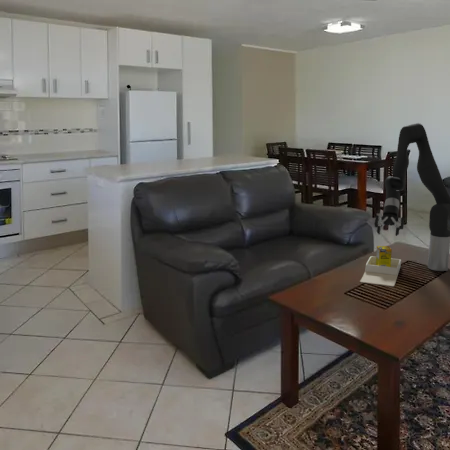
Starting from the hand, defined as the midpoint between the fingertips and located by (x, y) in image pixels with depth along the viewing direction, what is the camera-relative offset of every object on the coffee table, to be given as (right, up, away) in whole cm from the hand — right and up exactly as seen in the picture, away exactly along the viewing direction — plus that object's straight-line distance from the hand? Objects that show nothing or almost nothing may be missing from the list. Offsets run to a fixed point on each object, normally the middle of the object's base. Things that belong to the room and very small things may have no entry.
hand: (387, 234), depth 242 cm
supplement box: (-5, -17, -7) cm, 19 cm away
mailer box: (-8, -19, -14) cm, 25 cm away
